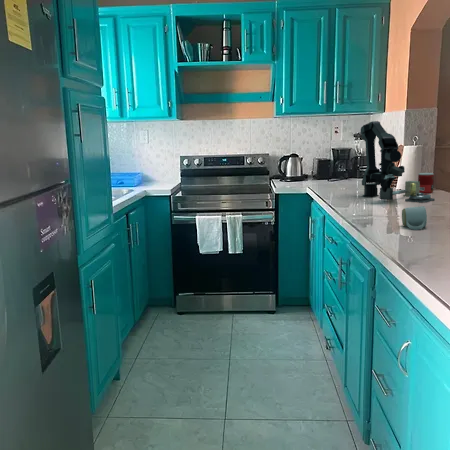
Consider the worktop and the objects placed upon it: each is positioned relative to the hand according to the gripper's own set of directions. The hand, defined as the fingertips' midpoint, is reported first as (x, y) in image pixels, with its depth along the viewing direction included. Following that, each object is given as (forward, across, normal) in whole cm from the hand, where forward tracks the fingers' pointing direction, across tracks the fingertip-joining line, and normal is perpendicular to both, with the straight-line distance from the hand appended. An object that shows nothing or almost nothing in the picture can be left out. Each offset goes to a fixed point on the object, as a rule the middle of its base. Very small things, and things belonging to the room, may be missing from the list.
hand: (386, 191), depth 236 cm
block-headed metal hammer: (+4, +8, 0) cm, 9 cm away
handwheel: (+4, +11, -12) cm, 17 cm away
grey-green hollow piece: (+5, +23, 0) cm, 23 cm away
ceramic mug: (+5, -46, -46) cm, 66 cm away
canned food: (+5, +39, +2) cm, 39 cm away
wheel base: (+5, +11, -12) cm, 17 cm away
